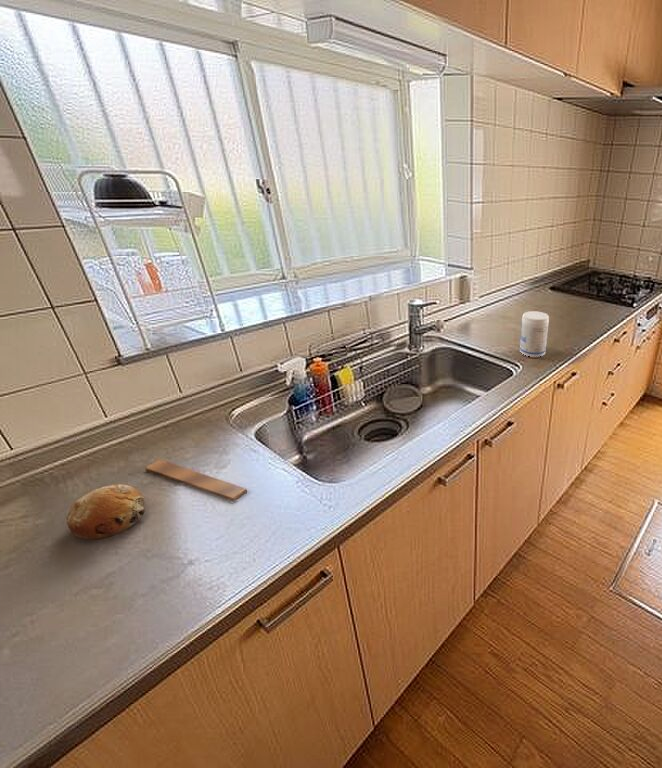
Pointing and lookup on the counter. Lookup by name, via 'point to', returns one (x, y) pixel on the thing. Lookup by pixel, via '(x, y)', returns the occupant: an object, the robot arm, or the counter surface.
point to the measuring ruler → (196, 479)
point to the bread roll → (106, 511)
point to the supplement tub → (534, 334)
